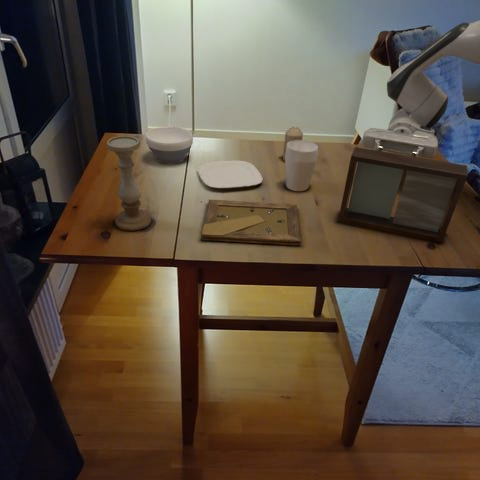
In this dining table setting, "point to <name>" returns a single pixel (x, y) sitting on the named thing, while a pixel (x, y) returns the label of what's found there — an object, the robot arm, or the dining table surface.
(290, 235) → the picture frame
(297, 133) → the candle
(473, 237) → the dining table surface
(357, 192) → the door
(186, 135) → the bowl
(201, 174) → the plate
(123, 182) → the candle holder
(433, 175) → the frame
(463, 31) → the robot arm
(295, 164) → the cup
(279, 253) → the dining table surface
